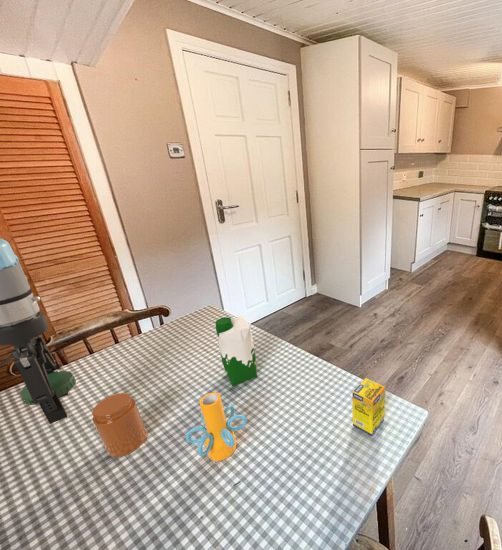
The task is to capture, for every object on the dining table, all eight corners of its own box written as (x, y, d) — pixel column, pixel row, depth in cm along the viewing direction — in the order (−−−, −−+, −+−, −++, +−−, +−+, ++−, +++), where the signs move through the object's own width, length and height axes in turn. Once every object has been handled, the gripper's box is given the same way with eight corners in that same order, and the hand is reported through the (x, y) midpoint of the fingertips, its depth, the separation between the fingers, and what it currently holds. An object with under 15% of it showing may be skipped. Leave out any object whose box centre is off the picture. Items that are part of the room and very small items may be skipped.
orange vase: (190, 481, 63) (173, 428, 57) (194, 440, 72) (180, 391, 66) (252, 459, 67) (242, 408, 62) (249, 423, 76) (239, 376, 71)
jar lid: (55, 403, 62) (51, 395, 61) (12, 406, 61) (7, 398, 61) (85, 376, 69) (82, 369, 69) (47, 379, 69) (43, 371, 68)
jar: (106, 441, 72) (88, 403, 67) (144, 423, 76) (130, 386, 72) (108, 464, 66) (90, 424, 62) (149, 443, 71) (135, 405, 67)
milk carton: (223, 373, 94) (211, 316, 86) (253, 362, 98) (244, 308, 91) (229, 390, 87) (216, 330, 79) (261, 377, 92) (252, 320, 84)
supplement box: (372, 437, 72) (372, 402, 68) (352, 425, 76) (351, 391, 71) (384, 420, 77) (385, 386, 73) (365, 410, 80) (365, 377, 76)
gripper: (37, 333, 54) (82, 427, 62) (45, 295, 68) (81, 376, 77) (-29, 350, 49) (30, 449, 58) (-5, 306, 63) (39, 390, 72)
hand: (59, 407), depth 67 cm, fingers closed on jar lid, 8 cm apart
